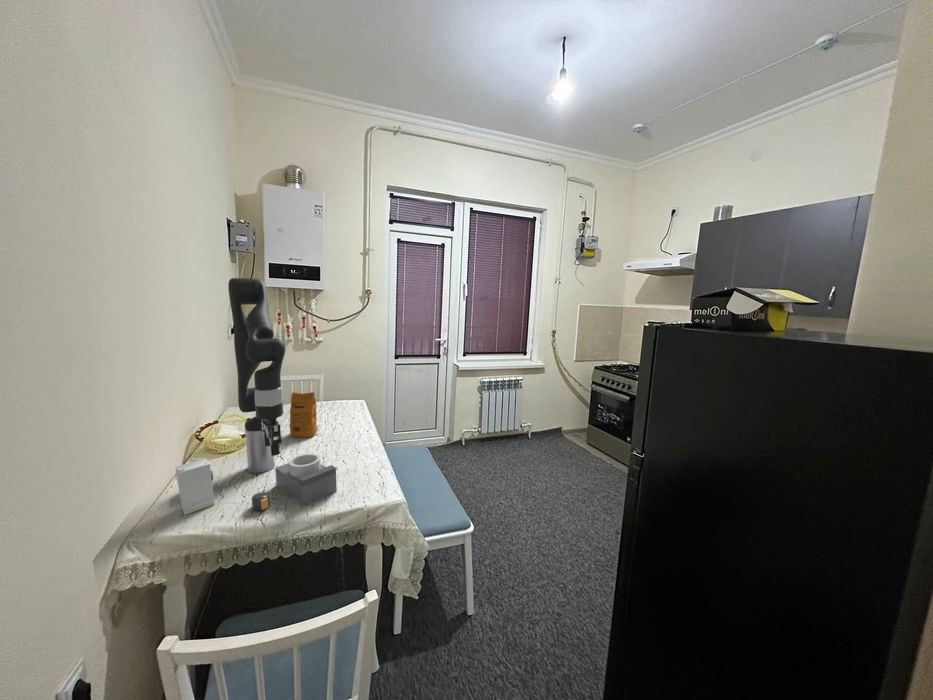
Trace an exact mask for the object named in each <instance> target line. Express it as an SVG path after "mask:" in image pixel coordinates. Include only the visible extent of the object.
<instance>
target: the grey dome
mask: <svg viewBox="0 0 933 700" xmlns="http://www.w3.org/2000/svg"><path fill="white" fill-rule="evenodd" d="M270 496H271V495H270V492H267V491H262V492H261V491H258V492H256V493H254V494H253V495H252V497H251V506H252V511H253V512H254V513H260V512H264V511H267V510H268V509H269V508H271V497H270Z"/></svg>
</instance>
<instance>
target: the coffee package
mask: <svg viewBox="0 0 933 700" xmlns="http://www.w3.org/2000/svg"><path fill="white" fill-rule="evenodd" d="M315 396H316V395H315V391H312V392H311V391H310V392H305V393H301V392H299V393H298V392H295V391H292V394H291V397H290V398H291V399H290V409H289V433H290V438H293V439H294V438H301V439H307V438H313V437H314V436H315V435H316V434H317V432H318V424H317V414H318V413H317V403H316V397H315Z"/></svg>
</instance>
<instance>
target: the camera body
mask: <svg viewBox="0 0 933 700" xmlns="http://www.w3.org/2000/svg"><path fill="white" fill-rule="evenodd" d="M275 482H276V483H275V484H276V486H277V487H278V488H279V489H280V490H281V491H283V492H284V493H286V494H287V495H288V496H289V497H291V498H292V500H295V501H296V502H298V504H300V505H301V506H302V507H305V506H309V505H310V504H312V503H314V502H316V501H319V500H320V499H323V498H325V497H327V496H329V495H331V494H334V493H336V492H337V467H335V466H334V465H332V464H330V465H329V466H325V465H324V464H322V463H321V456H320V455H319V454H317V453H303V454H299V455H296V456H294V457H292V458H291V459H290V460H289V461H288V462H287V463H284V464H282V465H280V466H277V467H275Z"/></svg>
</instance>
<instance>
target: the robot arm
mask: <svg viewBox="0 0 933 700" xmlns="http://www.w3.org/2000/svg"><path fill="white" fill-rule="evenodd" d="M227 288H228V295H229V305H230V309H231V317H232V322H233V323H232V325H233V341H234V342H233V344H234V345H233V346H234V354H235V355H234V356H235V362H236V364H235V365H236V371H237V397H238V398H237V401H238V402H237V403H238V408H239V410H240V412H242V413H251V412H252V413H253V412H255V416H254V417H251V418H249V419H247V420H246V421H245V422H244V433H245V445H246V463H247V472H248V473H250V474H261V473H262V474H263V473H266V472H268V471H271V470H272V469H273V468H274V467H275V456H278V455H280V454H281V453H280V444H282V431H281V424H280V423H279V421H277V419H279V418H280V417H282V416H283V414H284V400H283V392H282V382H281V380H282V379H281V371H282V365H283V361H284V357H285V354H286V344H285V343H284V341H283V340H282V339H281V338H279V337H278V338H277V337H274V336H275V335H274V334H275V332H274V328H273V325H272V323H271V318H270V313H269V311H270V310H269V301H268V295H267V288H266V284H265V283H264V281H263V280H262V279H260V278H249V277H248V278H243V277H232V278H230V279H229V281H228V286H227ZM243 305H244V306H245V305H246V306H247V305H251V306H252V305H254V307H253V308H252V309H251V310H250V311H249V312H248V314H247V316H246V315H245V313H244V310H243V309H242V306H243ZM263 362H264V363H265V362H271V363H270V365H268V366H266V367H262V368H260V369H258V367H259V366H260V365H261V363H263ZM252 377H254V378H253V380H254V387H248V386H249V384H250V381H251V379H252ZM275 438H276V439H275Z"/></svg>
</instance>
